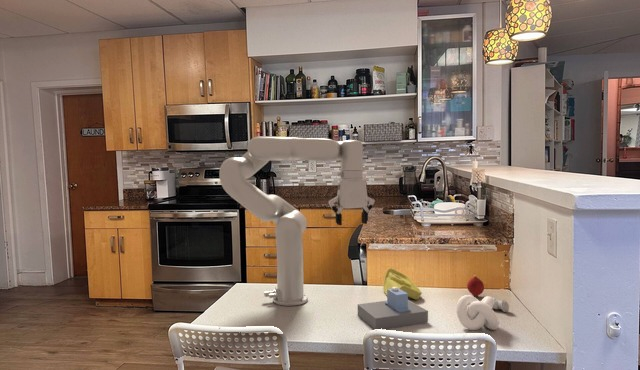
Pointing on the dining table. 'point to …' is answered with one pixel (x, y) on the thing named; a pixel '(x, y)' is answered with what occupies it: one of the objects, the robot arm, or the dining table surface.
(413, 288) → the plastic component
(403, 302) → the block
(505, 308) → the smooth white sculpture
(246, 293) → the dining table surface
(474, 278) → the onion
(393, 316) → the grey flat block
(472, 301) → the white knot
